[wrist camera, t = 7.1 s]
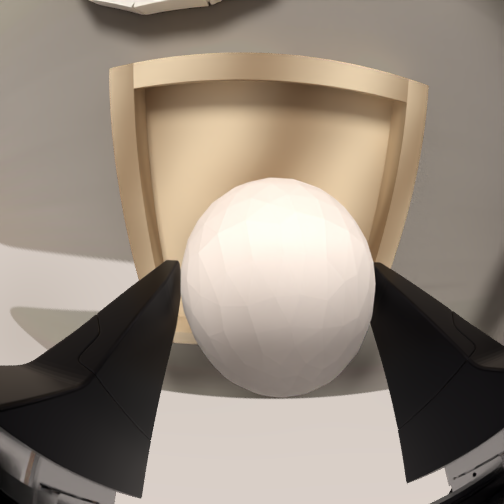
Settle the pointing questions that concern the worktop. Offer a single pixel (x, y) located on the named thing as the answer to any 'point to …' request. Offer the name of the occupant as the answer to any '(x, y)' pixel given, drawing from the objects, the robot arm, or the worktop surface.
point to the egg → (278, 286)
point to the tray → (260, 143)
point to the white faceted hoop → (153, 5)
